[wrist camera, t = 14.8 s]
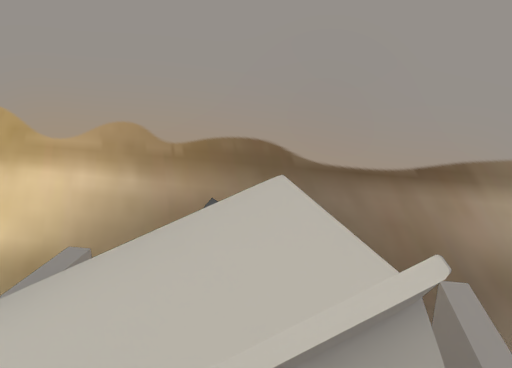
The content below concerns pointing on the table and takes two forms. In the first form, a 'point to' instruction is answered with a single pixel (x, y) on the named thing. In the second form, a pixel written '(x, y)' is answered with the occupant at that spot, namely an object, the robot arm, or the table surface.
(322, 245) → the milk carton
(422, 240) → the table surface
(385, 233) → the table surface
